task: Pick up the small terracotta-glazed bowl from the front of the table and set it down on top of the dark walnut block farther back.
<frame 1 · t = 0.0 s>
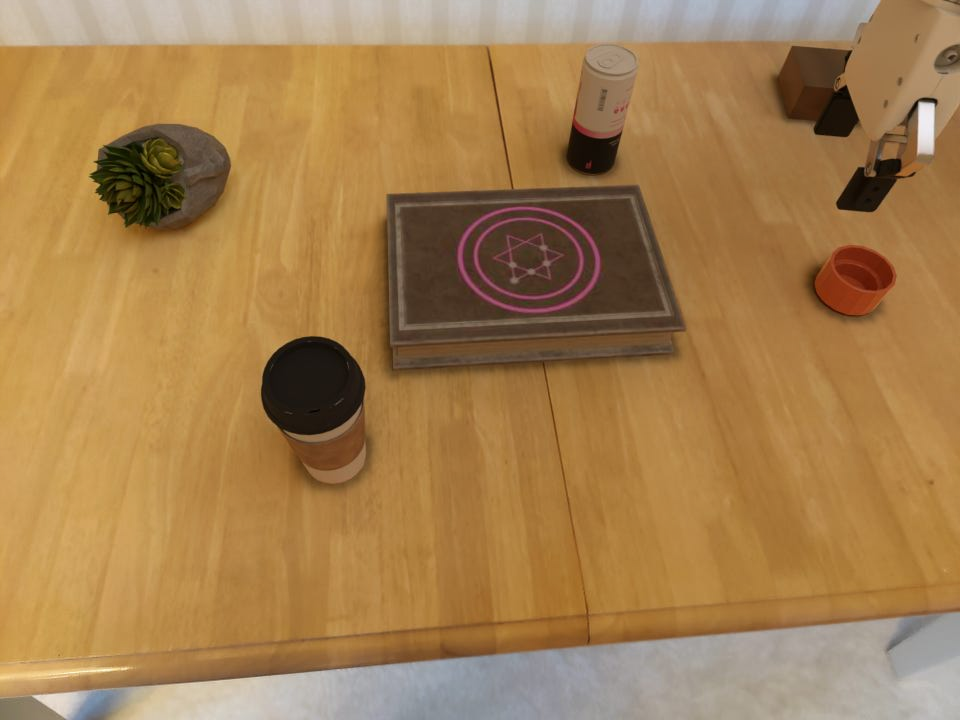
hand: (841, 169, 58), 22 cm above the table, tool pointing down, fingers open, 9 cm apart
stand: (815, 101, 100), on the table
potted plant: (178, 217, 82), on the table
book: (522, 285, 78), on the table
bowl: (843, 293, 79), on the table
coffee cup: (336, 456, 65), on the table
beverage can: (589, 162, 91), on the table
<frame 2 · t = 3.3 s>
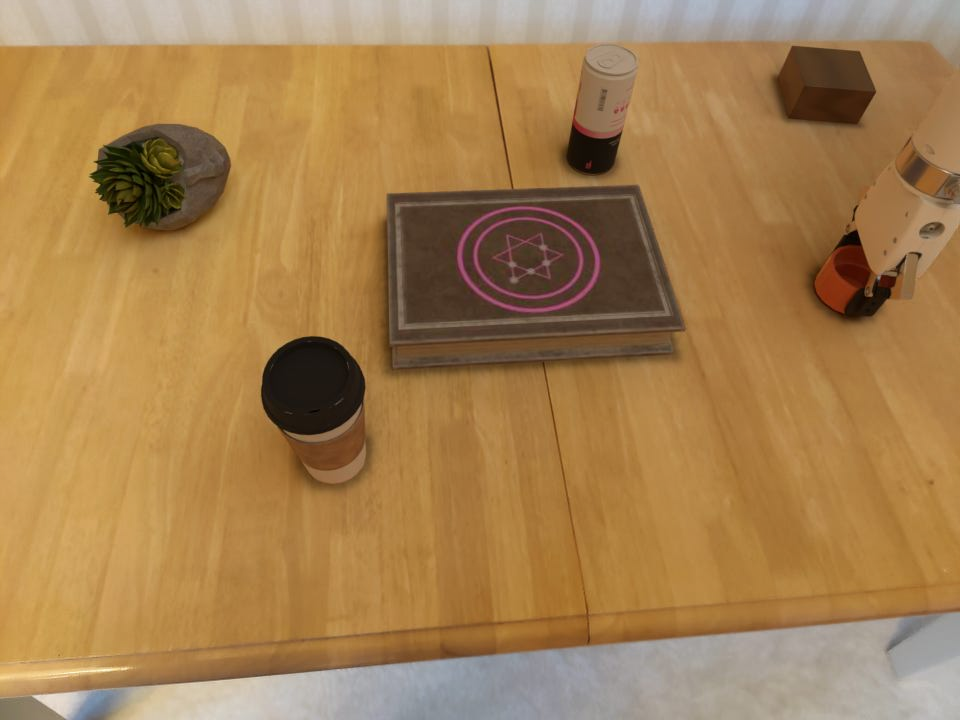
hand: (849, 285, 78), 1 cm above the table, tool pointing down, fingers closed on bowl, 7 cm apart
bowl: (843, 293, 79), on the table, touching gripper
everything else where it was.
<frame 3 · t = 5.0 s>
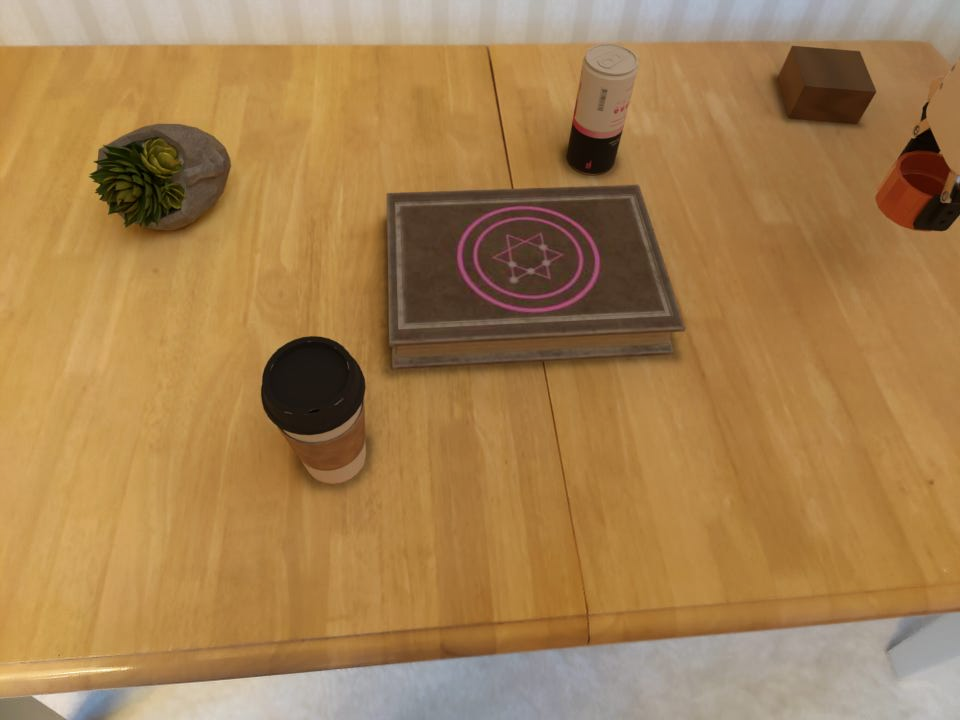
hand: (917, 198, 67), 15 cm above the table, tool pointing down, fingers closed on bowl, 7 cm apart
bowl: (909, 209, 68), point 13 cm above the table, touching gripper
everything else where it was.
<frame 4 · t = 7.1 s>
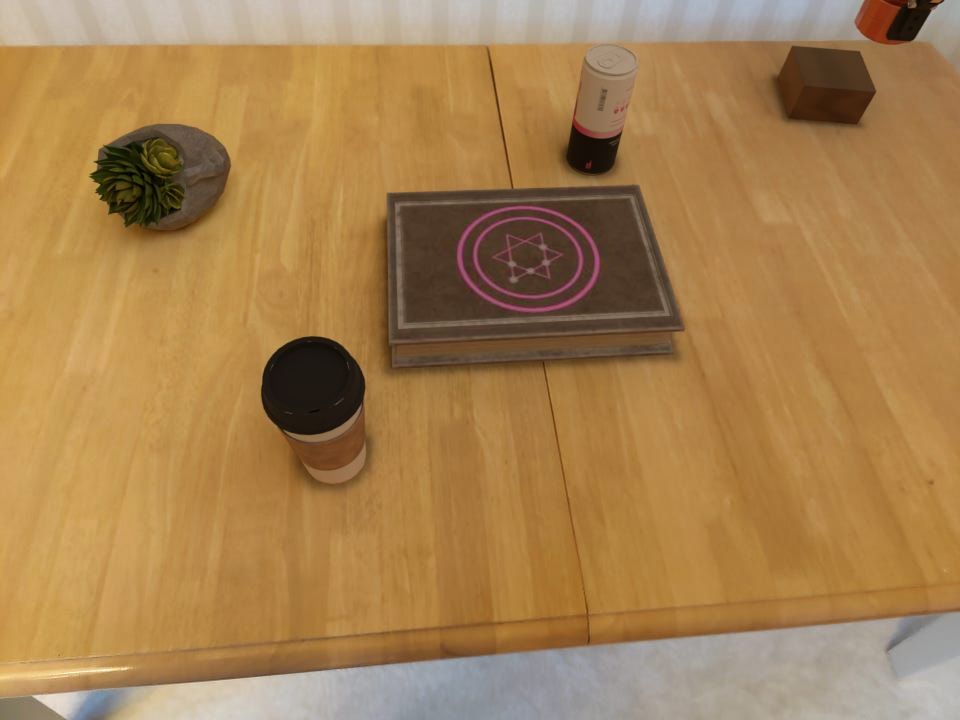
hand: (889, 19, 80), 18 cm above the table, tool pointing down, fingers closed on bowl, 7 cm apart
bowl: (882, 31, 81), point 16 cm above the table, touching gripper
everything else where it was.
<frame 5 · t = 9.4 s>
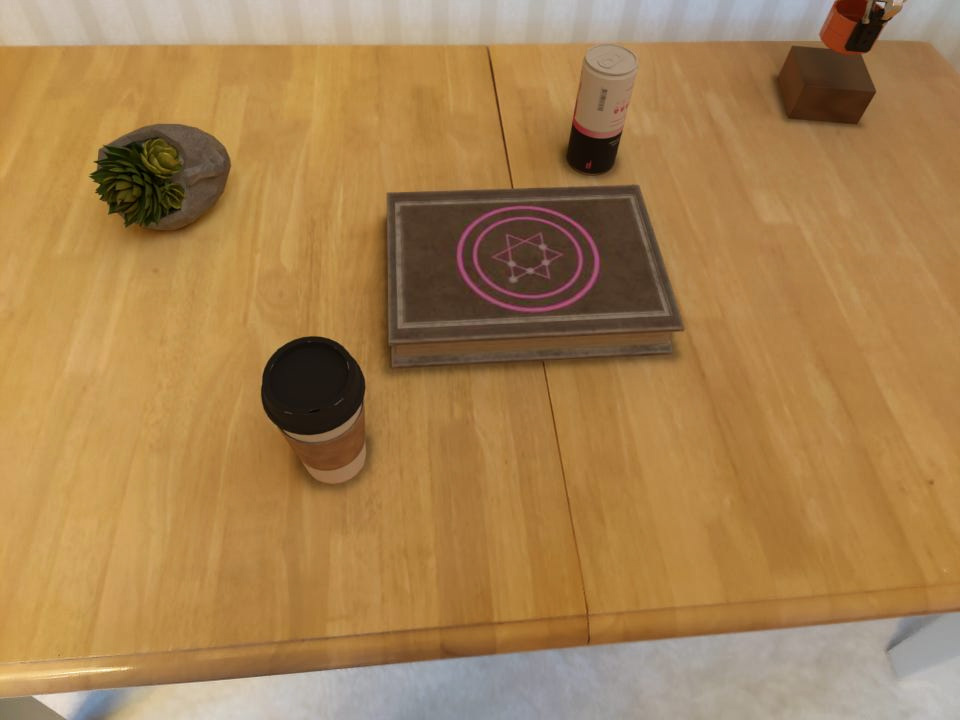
hand: (849, 33, 91), 11 cm above the table, tool pointing down, fingers closed on bowl, 7 cm apart
bowl: (844, 43, 92), point 9 cm above the table, touching gripper
everything else where it was.
when the fingers open (7 cm above the table, at t = 11.0 s): bowl stays where it is, resting on stand.
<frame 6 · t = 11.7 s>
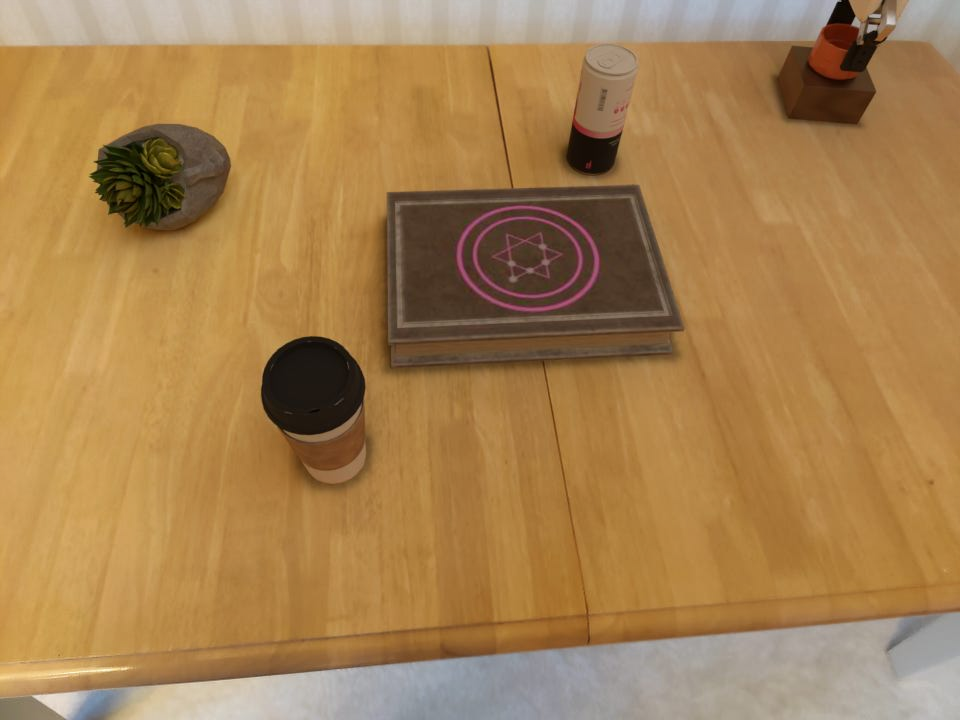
hand: (843, 50, 93), 8 cm above the table, tool pointing down, fingers open, 9 cm apart
bowl: (832, 67, 96), point 5 cm above the table, touching stand
everything else where it was.
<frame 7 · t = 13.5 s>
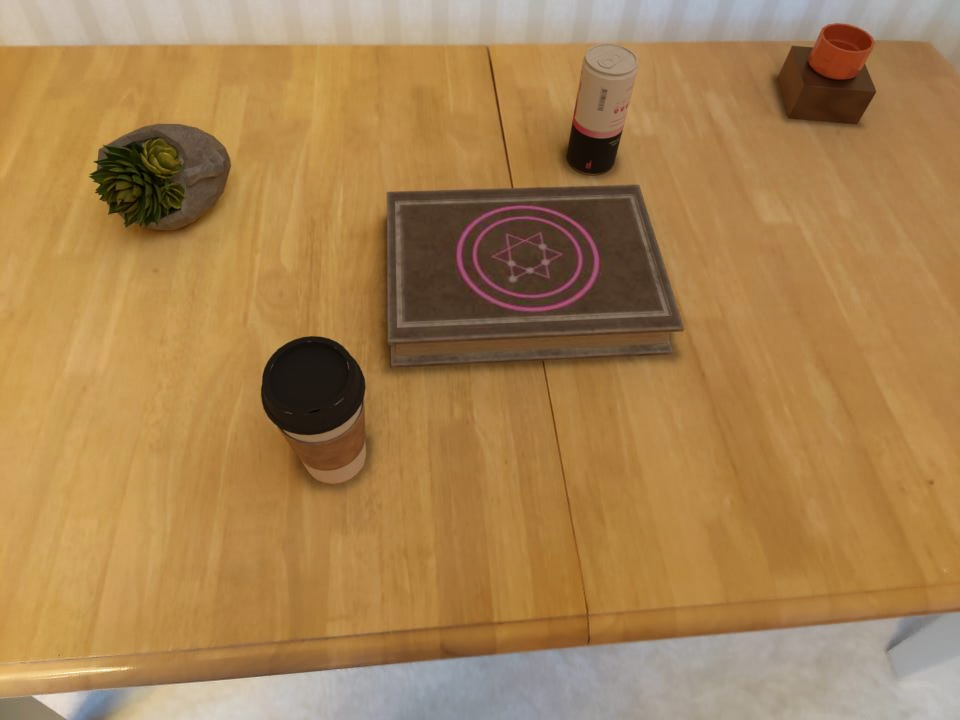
nothing on the table moved.
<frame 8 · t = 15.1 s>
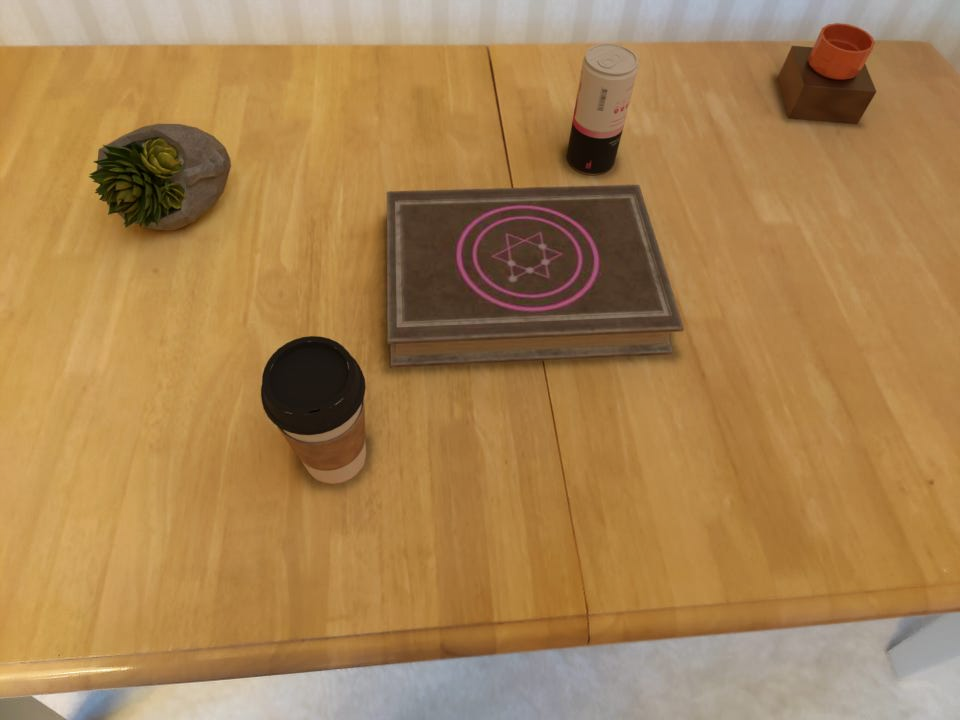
nothing on the table moved.
at the end: bowl inside the target area on the stand (0.1 cm from its centre), point 5.5 cm above the stand's base; bowl tilted 0°; the gripper is holding nothing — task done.
